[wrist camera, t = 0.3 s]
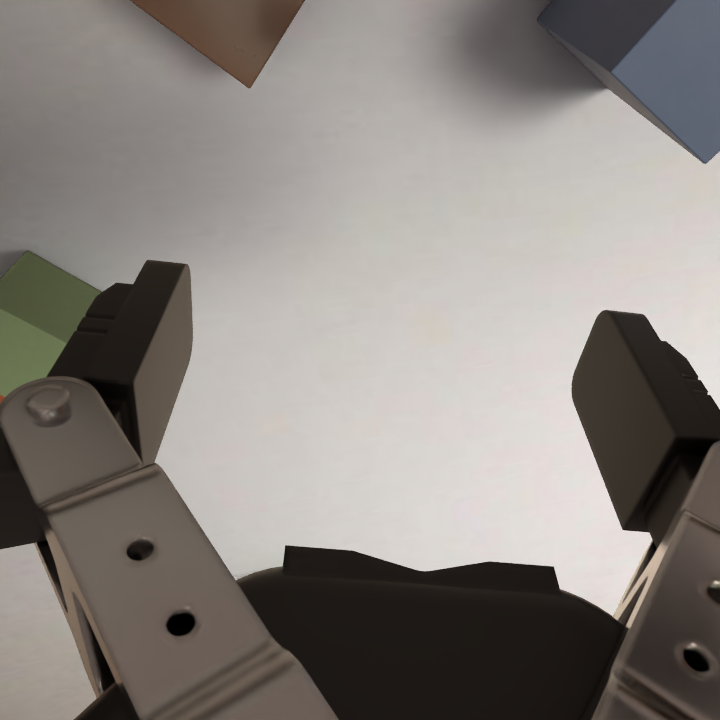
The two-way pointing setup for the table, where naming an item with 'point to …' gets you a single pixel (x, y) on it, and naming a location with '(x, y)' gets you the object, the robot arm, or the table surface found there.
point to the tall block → (651, 60)
